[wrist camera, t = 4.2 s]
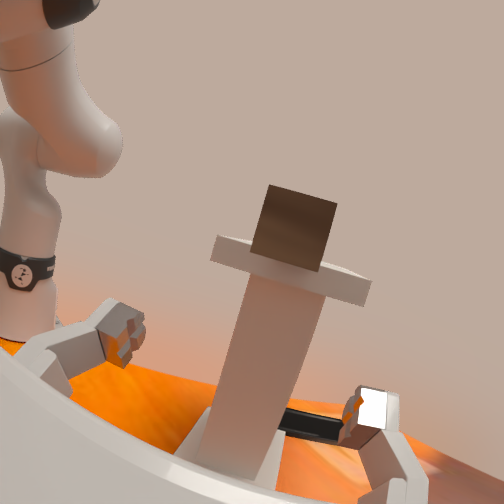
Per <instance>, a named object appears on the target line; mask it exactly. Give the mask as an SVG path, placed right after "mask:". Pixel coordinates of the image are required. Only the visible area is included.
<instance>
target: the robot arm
mask: <svg viewBox="0 0 504 504" xmlns="http://www.w3.org/2000/svg"><path fill="white" fill-rule="evenodd" d="M99 2H100V0H0V78H1V81H2V85H3V88H4V92H5V95H6V98H7V101H8V104H9V105H10V106H9V107H7V108H6V109H5V110H4V111H3V113H2V114H1V115H0V158H1V161H2V165H3V170H4V178H5V200H4V207H3V214H2V220H1V226H0V337H3V338H6V339H9V340H13V341H20V342H26V343H25V344H24V345H23V346H22V347H21V348H20V350H19V351H18V352H17V353H16V354H15V355H14V356H13V357H12V356H11V355H10V354H9V353H8V352H6V351H5V350H4V349H3V348H2V347H1V346H0V504H336V503H330V502H325V501H319V500H314V499H309V498H304V497H300V496H295V495H291V494H287V493H283V492H279V491H275V490H271V489H267V488H264V487H260V486H257V485H253V484H250V483H247V482H244V481H240V480H237V479H234V478H231V477H228V476H225V475H222V474H220V473H217V472H214V471H211V470H209V469H206V468H203V467H201V466H198V465H196V464H193V463H191V462H188V461H186V460H183V459H181V458H179V457H176V456H174V455H172V454H170V453H167V452H165V451H163V450H161V449H159V448H156V447H154V446H152V445H150V444H148V443H146V442H144V441H142V440H140V439H138V438H136V437H134V436H132V435H130V434H128V433H126V432H125V431H123V430H121V429H119V428H117V427H115V426H114V425H112V424H110V423H108V422H106V421H105V420H103V419H101V418H100V417H98V416H96V415H94V414H93V413H91V412H90V411H88V410H86V409H85V408H83V407H81V406H80V405H78V404H77V403H75V402H74V401H72V400H71V399H69V397H70V396H71V394H72V393H73V389H72V387H71V385H70V383H69V381H68V380H69V379H71V378H73V377H75V376H77V375H79V374H81V373H83V372H85V371H87V370H89V369H92V368H94V367H96V366H98V365H100V364H102V363H104V362H106V361H108V362H110V363H112V364H114V365H116V366H118V367H120V368H122V369H124V368H125V367H126V365H127V364H128V363H129V361H130V360H131V358H132V352H133V351H135V350H138V349H139V348H140V346H141V345H142V343H143V341H144V339H145V334H146V329H145V326H144V325H143V323H142V322H143V321H144V313H142V312H140V311H138V310H136V309H134V308H132V307H130V306H127V305H125V304H123V303H121V302H119V301H117V300H115V299H113V298H108V299H106V300H105V301H104V302H103V303H102V304H101V305H100V306H99V307H98V308H97V309H96V310H95V311H94V312H93V313H92V314H91V315H90V316H89V318H87V320H86V321H85V322H82V321H80V322H77V323H74V324H70V325H67V326H64V327H63V325H62V323H61V322H60V320H59V319H58V317H57V316H56V309H57V298H58V288H57V287H56V285H55V284H54V282H53V280H52V276H53V271H54V268H55V258H56V257H55V255H54V251H55V246H56V241H57V236H58V231H59V227H60V222H61V218H62V217H61V210H60V206H59V204H58V202H57V201H56V200H55V198H54V197H53V196H52V195H51V194H50V193H49V192H48V190H47V187H46V181H45V176H46V171H47V170H49V171H53V172H57V173H61V174H65V175H69V176H73V177H83V178H101V177H103V176H105V175H106V174H107V173H109V172H110V171H111V170H112V169H113V167H114V166H115V165H116V163H117V162H118V160H119V158H120V155H121V152H122V146H123V140H122V134H121V130H120V128H119V126H118V124H117V123H116V122H115V121H113V120H112V119H110V118H109V117H108V116H106V115H105V114H104V113H103V112H102V111H101V110H100V109H99V108H98V107H97V106H96V105H95V104H94V102H93V101H92V99H91V98H90V97H89V95H88V94H87V92H86V91H85V89H84V87H83V85H82V83H81V81H80V78H79V75H78V70H77V64H76V57H75V46H74V28H73V24H74V23H77V22H79V21H82V20H83V19H85V18H86V17H87V16H88V15H89V14H91V12H93V11H94V10H95V9H96V8H97V7H98V4H99ZM105 360H106V361H105ZM342 421H343V423H344V426H343V427H342V428H341V430H340V433H339V439H338V446H342V447H346V448H351V449H355V450H359V451H358V453H359V455H360V458H361V461H362V463H363V466H364V469H365V471H366V474H367V477H368V480H369V482H370V485H371V488H372V491H370V492H369V493H367V494H365V495H363V496H362V497H360V498H358V503H357V504H427V502H428V486H429V480H428V478H427V476H426V474H425V472H424V470H423V469H422V467H421V465H420V463H419V461H418V460H417V458H416V456H415V454H414V452H413V451H412V449H411V447H410V445H409V444H408V442H407V440H406V438H405V437H404V435H403V433H401V432H399V395H398V394H397V393H393V392H388V391H384V390H380V389H376V388H371V387H367V386H362V385H360V386H358V387H357V389H356V390H355V395H354V396H352V397H350V398H349V400H348V401H347V403H346V405H345V408H344V411H343V415H342Z"/></svg>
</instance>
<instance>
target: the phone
mask: <svg viewBox="0 0 504 504" xmlns="http://www.w3.org/2000/svg"><path fill="white" fill-rule="evenodd" d="M343 426H344V423H343V421H342V420H340V419H336V418H331V417H326V416H321V415H316V414H312V413H307V412H303V411H299V410H294V409H290V408H286V409H285V411H284V414H283V416H282V419H281V421H280V424H279V426H278V428H277V429H278V430H281V431H285V432H286V433H285V435H287V436H291V437H296V438H300V439H305V440H310V441H315V442H320V443H326V444H331V445H337V446H338V439H339V433H340V430H341V428H342V427H343Z"/></svg>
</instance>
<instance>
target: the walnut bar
mask: <svg viewBox="0 0 504 504" xmlns="http://www.w3.org/2000/svg"><path fill="white" fill-rule="evenodd" d="M336 207H337V203H334V202H331V201H327V200H324V199H320V198H317V197H313V196H310V195H306V194H303V193H299V192H295V191H291V190H288V189H284V188H281V187H277V186H273V185H269V187H268V190H267V194H266V197H265V200H264V204H263V207H262V211H261V214H260V218H259V221H258V225H257V228H256V231H255V235H254V238H253V242H252V245H251V249H250V252H251V253H254V254H257V255H261V256H264V257H267V258H271V259H274V260H277V261H281V262H284V263H287V264H291V265H294V266H297V267H301V268H304V269H307V270H311V271H314V272H317V273H318V271H319V267H320V264H321V260H322V257H323V253H324V250H325V246H326V243H327V240H328V236H329V233H330V229H331V226H332V222H333V218H334V215H335V211H336Z"/></svg>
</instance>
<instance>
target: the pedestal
mask: <svg viewBox="0 0 504 504" xmlns="http://www.w3.org/2000/svg"><path fill="white" fill-rule="evenodd" d="M252 242H253V241H249V240H242V239H237V238H232V237H226V236H220V235H217V238H216V241H215V244H214V248H213V252H212V255H211V259H210V260H211V261H214V262H217V263H220V264H223V265H226V266H230V267H233V268H236V269H239V270H242V271H246V272H249V273H251V275H250V278H249V281H248V284H247V288H246V292H245V295H244V298H243V302H242V305H241V308H240V312H239V315H238V319H237V322H236V325H235V329H234V332H233V336H232V339H231V342H230V346H229V349H228V352H227V356H226V360H225V363H224V366H223V369H222V373H221V376H220V380H219V383H218V386H217V390H216V393H215V396H214V400H213V403H212V407H209V406H208V407H207V408H206V410H205V411H204V413H203V414H202V415H201V417H200V418H199V420H198V421H197V423H196V424H195V425H194V427H193V428H192V430H191V431H190V432H189V434H188V435H187V436H186V438H185V439H184V441H183V442H182V443H181V445H180V446H179V448H178V449H177V450H176V452H175V453H174V454H173V455H174V456H176V457H179V458H181V459H183V460H186V461H188V462H191V463H193V464H196V465H198V466H201V467H203V468H206V469H209V470H211V471H214V472H217V473H220V474H222V475H225V476H228V477H231V478H234V479H237V480H240V481H244V482H247V483H250V484H253V485H257V486H260V487H264V488H267V489H271V490H275V487H276V482H277V477H278V472H279V466H280V461H281V456H282V450H283V444H284V439H285V433H286V432H285V431H281V430H278V429H277V428H278V426H279V424H280V421H281V419H282V416H283V414H284V411H285V409H286V406H287V404H288V401H289V399H290V396H291V394H292V391H293V388H294V386H295V383H296V381H297V378H298V375H299V373H300V370H301V367H302V365H303V362H304V359H305V356H306V354H307V351H308V348H309V345H310V342H311V339H312V337H313V334H314V331H315V328H316V325H317V322H318V319H319V316H320V313H321V310H322V307H323V304H324V301H325V297H326V296H328V297H331V298H334V299H338V300H341V301H344V302H348V303H351V304H355V305H358V306H362V307H364V304H365V301H366V298H367V295H368V292H369V289H370V285H371V282H372V281H371V280H369V279H366V278H364V277H362V276H360V275H358V274H356V273H354V272H351V271H350V270H347V269H345V268H342V267H339V266H335V265H332V264H329V263H326V262H322V261H321V264H320V267H319V271H318V273H317V272H314V271H311V270H307V269H304V268H301V267H297V266H294V265H291V264H287V263H284V262H281V261H277V260H274V259H271V258H267V257H264V256H261V255H257V254H254V253H251V252H250V249H251V245H252Z"/></svg>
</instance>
